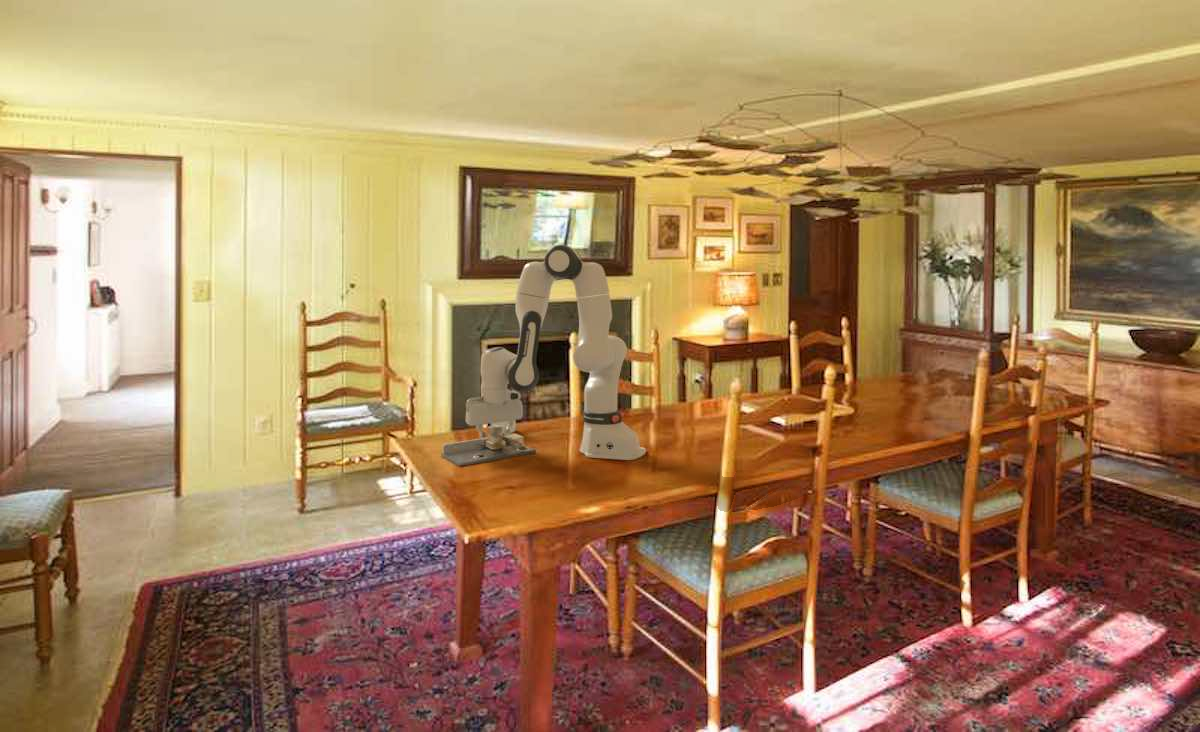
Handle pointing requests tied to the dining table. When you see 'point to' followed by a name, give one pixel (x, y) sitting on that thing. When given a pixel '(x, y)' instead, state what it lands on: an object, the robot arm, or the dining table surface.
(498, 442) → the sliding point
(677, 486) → the dining table surface
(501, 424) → the medicine bottle
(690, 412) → the dining table surface
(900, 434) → the dining table surface
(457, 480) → the dining table surface
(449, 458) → the divider plate
